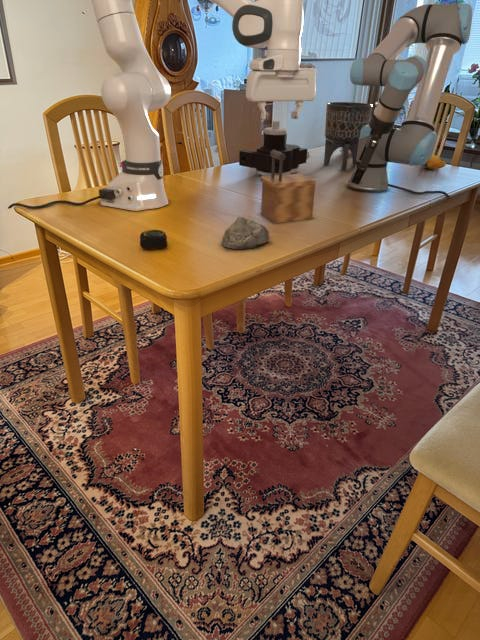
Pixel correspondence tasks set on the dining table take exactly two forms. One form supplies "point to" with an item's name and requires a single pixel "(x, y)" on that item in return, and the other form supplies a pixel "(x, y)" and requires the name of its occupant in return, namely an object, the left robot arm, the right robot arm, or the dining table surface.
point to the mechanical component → (276, 141)
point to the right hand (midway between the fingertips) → (358, 171)
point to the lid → (281, 179)
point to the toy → (434, 163)
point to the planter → (345, 129)
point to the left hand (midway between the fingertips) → (279, 119)
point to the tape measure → (153, 239)
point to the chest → (287, 203)
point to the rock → (245, 234)
